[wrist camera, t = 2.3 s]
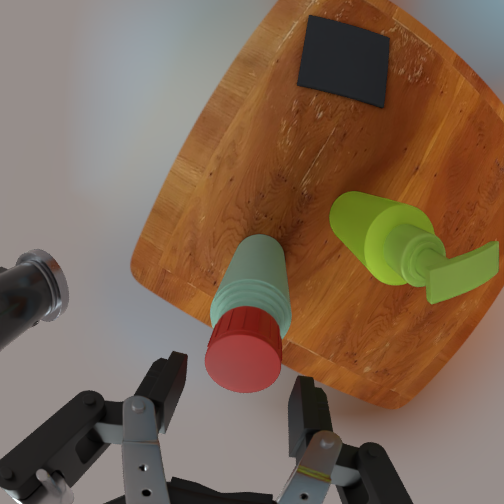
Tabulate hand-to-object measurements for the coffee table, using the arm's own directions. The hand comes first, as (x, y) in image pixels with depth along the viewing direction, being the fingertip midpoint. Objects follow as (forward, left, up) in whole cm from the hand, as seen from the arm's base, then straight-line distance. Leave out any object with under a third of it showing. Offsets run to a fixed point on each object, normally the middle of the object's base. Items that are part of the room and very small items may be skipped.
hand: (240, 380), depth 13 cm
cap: (0, 0, -4) cm, 4 cm away
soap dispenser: (+10, +7, -21) cm, 24 cm away
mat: (+5, +25, -21) cm, 33 cm away
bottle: (0, 0, -21) cm, 21 cm away
